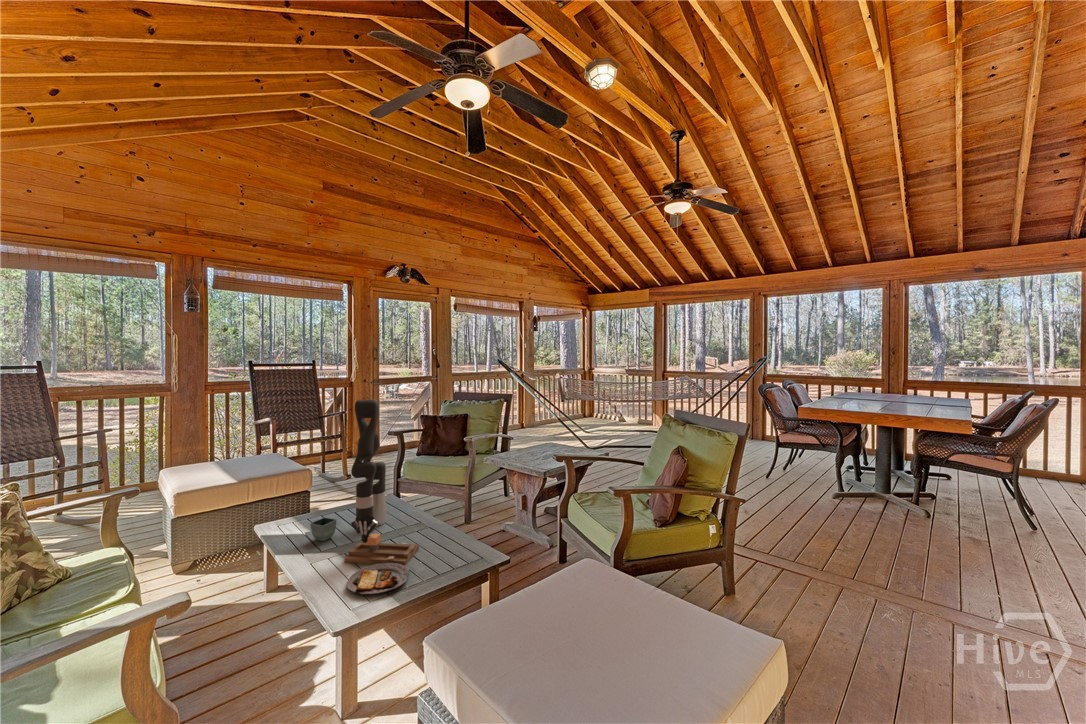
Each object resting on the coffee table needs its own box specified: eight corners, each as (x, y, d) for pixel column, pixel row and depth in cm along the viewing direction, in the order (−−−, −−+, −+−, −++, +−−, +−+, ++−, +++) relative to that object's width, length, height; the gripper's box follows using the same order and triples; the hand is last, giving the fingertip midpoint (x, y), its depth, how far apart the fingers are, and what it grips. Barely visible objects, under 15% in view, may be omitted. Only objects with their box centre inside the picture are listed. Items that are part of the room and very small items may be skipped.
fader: (372, 547, 207) (372, 533, 206) (380, 548, 206) (380, 533, 206) (367, 552, 202) (367, 537, 202) (376, 552, 202) (375, 538, 201)
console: (363, 546, 213) (362, 539, 213) (418, 548, 210) (418, 541, 210) (344, 562, 197) (344, 554, 197) (404, 565, 194) (404, 557, 194)
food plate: (403, 595, 170) (403, 586, 170) (339, 602, 167) (339, 593, 167) (412, 565, 195) (412, 558, 195) (356, 571, 191) (356, 563, 191)
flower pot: (309, 541, 219) (309, 523, 219) (324, 534, 227) (324, 517, 227) (322, 544, 216) (322, 526, 216) (337, 536, 224) (337, 519, 224)
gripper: (382, 502, 207) (382, 539, 207) (355, 501, 208) (356, 537, 209) (374, 508, 199) (374, 546, 200) (346, 507, 201) (347, 544, 201)
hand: (365, 541), depth 204 cm, fingers closed
